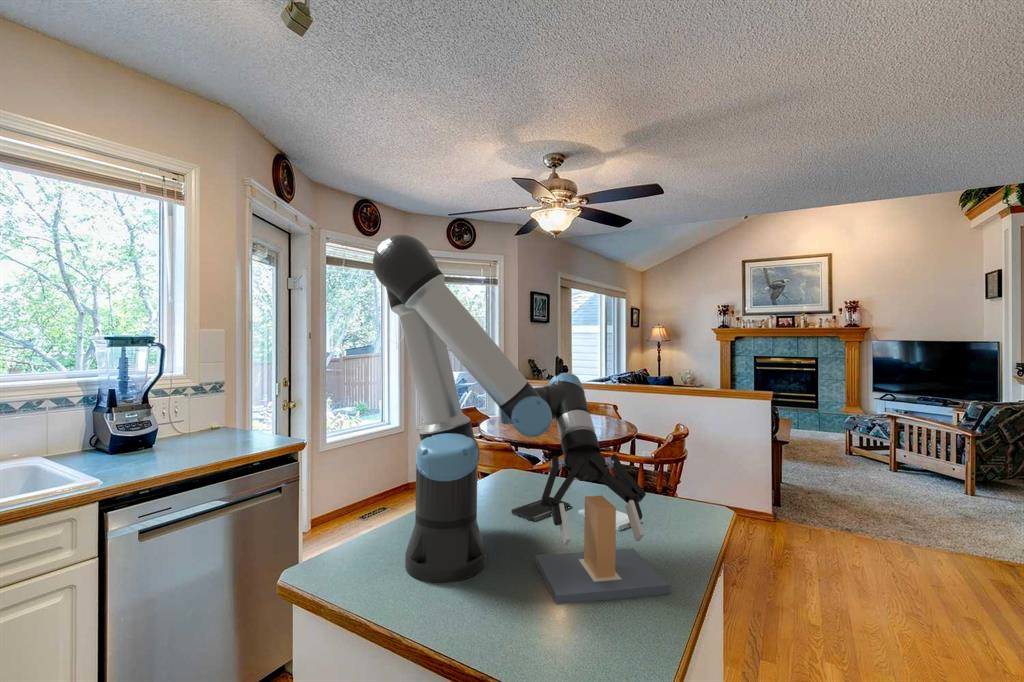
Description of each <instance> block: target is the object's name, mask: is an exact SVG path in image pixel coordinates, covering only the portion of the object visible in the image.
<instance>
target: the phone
mask: <svg viewBox="0 0 1024 682" xmlns="http://www.w3.org/2000/svg"><path fill="white" fill-rule="evenodd" d="M540 501H541V499H539V500H536V501H534V502H530V503H527V504H523V505H522V506H518V507H515V508H512V509H511V511H510V513H512V514H513V515H512V514H511V515H512V516H515V517H517V516H519V517H521V518H520V519H522V518H523V520H525V519H526V520H525V521H527V520H528V521H527V522H530V521H535V522H537V521H540V520H542V519H541V518H543V519H545V518H547V517H546V516H548V517H550V516H549V515H551V514H552V511H551V510H550V509H549V507H548V506H541V505H540ZM560 503H564V508H565V509H566V508H568V507H570V508H571V504H570V503H569V502H566V501H562V500H561V501H560V502H559V504H560ZM551 516H552V515H551ZM544 517H545V518H544ZM539 519H540V520H539ZM536 520H537V521H536Z"/></svg>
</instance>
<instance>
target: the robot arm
mask: <svg viewBox="0 0 1024 682" xmlns="http://www.w3.org/2000/svg"><path fill="white" fill-rule="evenodd" d="M372 257H373V259H372V268H373V272H374V275H375V277H376V278H377V280H378V281H379V282H380V284H381V285H382V286H383V287H385V288H386V289H385V290H386V294H387V297H388V301H389V307H390V309H391V310H390V311H392V312H393V313H395V314H396V315H398V316H399V319H400V322H401V323H400V324H401V328H402V332H403V336H404V340H405V344H406V349H407V355H408V359H409V362H410V366H411V367H410V368H411V371H412V372H411V373H412V376H413V380H414V385H415V389H416V393H417V394H416V395H417V398H418V403H419V406H420V411H421V416H422V420H423V424H422V425H421V427H420V428H419V430H418V434H419V438H420V442H419V443H418V445H417V448H416V454H415V459H414V460H415V467H416V469H415V520H414V521H415V522H414V526H413V529H412V532H411V535H410V538H409V540H408V544H407V547H406V551H405V555H404V559H405V561H404V562H405V563H404V567H405V570H406V571H407V573H408V574H409V575H411V576H412V577H414V578H416V579H418V580H421V581H424V582H429V583H430V582H431V583H450V582H451V583H452V582H457V581H461V580H465V579H467V578H470V577H472V576H474V575H476V574H478V573H479V572H480V571H481V570H482V569H484V566H485V564H486V546H485V543H484V540H483V536H482V533H481V530H480V527H479V523H478V520H477V519H478V518H477V517H478V515H477V513H478V511H477V510H478V476H479V475H478V472H479V471H478V470H479V463H480V456H481V453H480V446H479V443H478V442H477V439H476V438H475V434H474V430H473V429H474V428H473V425H472V421H471V420H472V419H471V418H470V417H469V416H468V415H466V414H464V413H463V410H462V406H461V403H460V397H459V393H458V389H457V384H456V380H455V376H454V371H453V367H452V363H451V357H450V353H449V351H450V352H451V353H452V354H453V355H454V356H455V357H456V359H457V360H458V361H459V362H460V363H461V365H463V367H464V368H465V369H466V371H467V372H468V373H469V374H470V375H471V376H472V378H473V379H474V380H475V381H476V382H477V383H478V384H479V385H480V387H481V388H482V389H483V391H485V393H486V394H487V395H488V396H489V397H490V398H491V400H492V401H493V402H494V403H495V404H496V405H497V406H498V408H499V416H500V422H501V423H502V424H503V425H512V426H513V427H514V429H515V430H516V431H517V432H518V433H520V434H521V435H522V436H525V437H528V438H537V437H540V436H542V435H544V434H545V433H546V432H547V431H548V430H549V429H550V426H551V424H552V421H553V420H555V422H556V425H557V431H558V435H559V439H560V444H561V445H560V446H561V449H562V454H563V457H564V458H559V456H557V455H553V456H552V457H551V459H550V460H551V461H550V462H549V471H550V472H549V475H548V478H547V481H546V483H545V487H544V490H543V493H542V495H541V498H540V500H541V501H540V505H541V506H548V507H549V509H550V510H551V511H552V515H551V516H552V521H553V524H554V525H555V526H559V531H560V535H561V542H562V546H563V547H565V546H568V545H569V543H570V541H571V539H572V538H571V534H570V529H569V528H570V527H569V523H568V519H567V514H566V510H565V508H564V503H560V504H559V502H560V501H562V500H563V497H564V496H565V495H566V493H567V491H568V489H570V487H571V486H572V484H573V482H574V481H575V479H577V480H579V482H584V481H590V482H591V481H592V482H593V481H595V480H597V481H598V482H600V484H601V483H602V484H604V485H605V486H606V487H608V488H609V489H610V490H611V491H613V492H614V494H616V495H617V496H618V497H619V498H620V499H622V500H623V501H624V502H625V503H626V505H625V507H624V508H625V511H626V514H627V515H628V518H629V521H630V524H631V526H630V527H631V531H632V534H633V537H634V540H635V542H640V541H641V540H642V539H643V537H644V536H645V532H644V529H643V526H642V523H641V520H642V519H643V513H642V509H641V505H640V503H641V501H643V499H644V498H645V497H646V494H647V493H646V491H645V490H644V489H643V488H642V487H641V486H640V484H639V483H638V482H637V480H636V479H635V478H634V477H633V476H632V475H631V474H630V473H629V472H628V470H627V469H626V468H625V467H624V466H623V465H622V463H621V461H620V459H619V457H618V454H616V453H612V455H611V456H608V457H604V456H603V455H602V452H601V448H600V444H599V441H598V437H597V434H596V430H595V426H594V423H593V419H592V416H591V414H590V410H589V405H588V402H587V398H586V394H585V390H584V388H583V384H582V382H581V380H580V378H579V377H578V376H577V375H575V374H574V373H570V372H563V373H559V374H558V375H554V376H553V377H552V378H551V379H550V380H549V383H548V385H545V386H540V387H539V386H537V387H533V386H532V385H531V383H529V382H528V380H527V378H525V376H524V375H523V374H522V373H521V371H519V369H518V368H517V367H516V366H515V365H514V363H513V362H512V361H511V360H510V359H509V357H508V356H507V355H506V354H505V353H504V352H503V350H502V349H501V348H500V347H499V346H498V344H496V342H495V341H494V340H493V339H492V337H490V335H489V334H488V333H487V332H486V330H484V328H483V327H482V326H481V324H479V322H478V321H477V320H476V319H475V318H474V316H473V315H472V314H471V313H470V311H469V310H468V309H467V308H466V307H465V306H464V305H463V303H462V302H461V301H460V300H459V299H458V298H457V296H456V295H455V294H454V293H453V292H452V291H451V289H450V288H449V287H448V286H447V285H446V283H445V279H446V278H445V277H446V276H445V274H444V273H443V271H441V270H440V268H439V266H438V263H437V262H436V259H435V258H434V256H433V255H432V254H431V253H430V252H429V250H428V248H427V247H426V245H424V243H423V242H422V241H421V240H419V239H417V238H416V237H413V236H411V235H408V234H396V235H395V234H394V235H390V236H389V237H387V238H385V239H384V240H383V241H381V242H380V243H379V245H378V246H377V247H376V249H375V251H374V255H373V256H372ZM606 466H607V467H608V468H607V467H606ZM562 467H564V468H565V469H566V470H567V471H568V472H569V473H568V475H567V476H566V478H565V479H564V481H563V482H562V484H561V486H560V488H558V490H557V492H556V493H555V495H554V496H553V497H551V493H552V490H553V486H554V484H555V480H556V477H557V474H558V471H560V470H561V469H562ZM610 469H611V470H610ZM611 472H612V473H611ZM613 474H614V475H613Z"/></svg>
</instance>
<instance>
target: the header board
mask: <svg viewBox="0 0 1024 682" xmlns="http://www.w3.org/2000/svg"><path fill="white" fill-rule="evenodd" d="M535 564H536V567H537V568H538V570H539V572H540V575H541V576H542V578H543V580H544V582H545V584H546V587H547V588H548V591H549V593H550V594H551V596H552V598H553V600H554V603H555V604H556V605H557V606H558V605H568V604H578V603H587V602H588V603H589V602H601V601H607V600H608V601H609V599H610V600H618V599H628V598H629V599H630V598H639V597H640V598H641V597H651V596H663V595H670V594H671V583H669V582H668V580H666V578H665V577H663V576H662V575H661V574H660V573H659V571H657V570H656V569H655V568H654V567H653V566H652V565H651V564H650V563H649V562H648V561H647V560H646V559H645V558H644V557H643V556H642V555H641V554H640V553H639V552H638V551H637V550H636V549H635V548H634V547H632V548H631V547H630V548H618V549H617V548H615V577H606V578H596V577H595V575H594V574H593V573H592V571H591V570H590V568H589V567H588V566H587V564H586V563H585V562H584V551H577V552H568V553H567V552H564V553H563V552H561V553H552V554H550V553H549V554H540V555H539V554H537V555H535Z"/></svg>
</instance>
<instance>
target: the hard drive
mask: <svg viewBox="0 0 1024 682" xmlns="http://www.w3.org/2000/svg"><path fill="white" fill-rule="evenodd" d="M578 513H579V514H582V515H584V516H585V507H584V508H582V509H578V511H577V514H578ZM628 526H630V527H631V524H630V521H629V518H628V514H627V513H625V512H622V511H619V510H617V509H616V529H617V530H620V529H622V528H625V527H627V528H629V527H628ZM625 529H626V528H625ZM617 530H616V531H617ZM622 530H623V529H622ZM620 531H621V530H620Z"/></svg>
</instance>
